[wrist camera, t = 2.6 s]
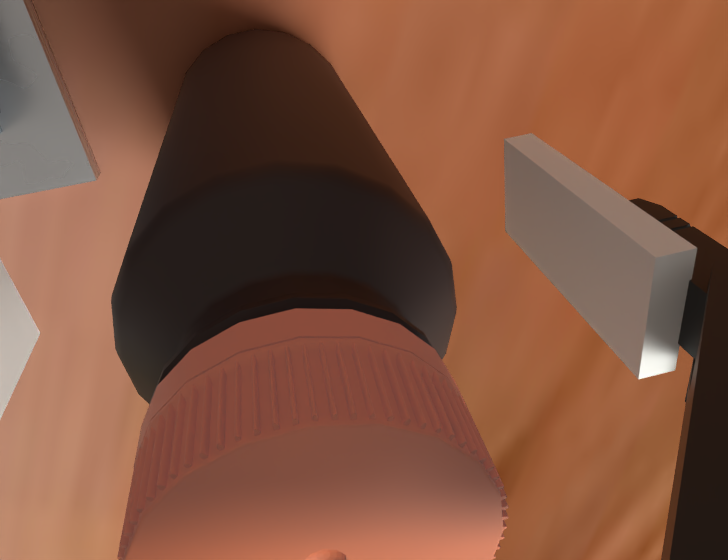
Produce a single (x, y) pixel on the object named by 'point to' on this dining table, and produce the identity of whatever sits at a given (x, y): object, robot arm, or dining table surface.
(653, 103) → the dining table surface
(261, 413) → the vinegar
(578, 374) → the dining table surface
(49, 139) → the duct collar
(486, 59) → the dining table surface
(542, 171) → the robot arm
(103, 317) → the dining table surface
